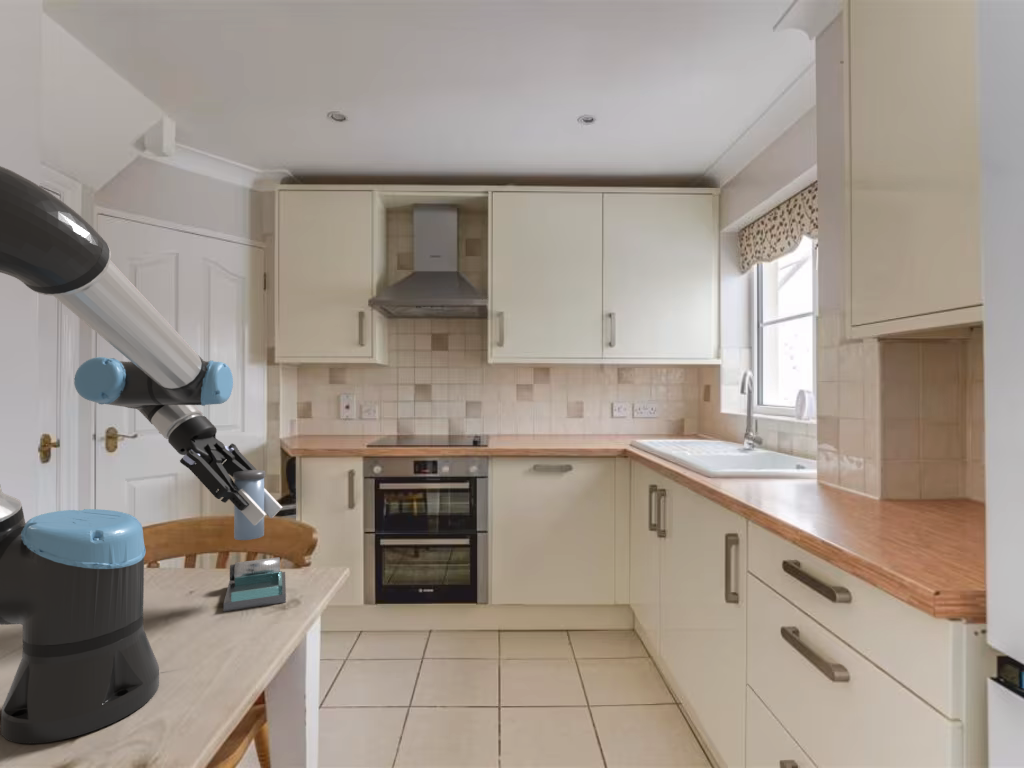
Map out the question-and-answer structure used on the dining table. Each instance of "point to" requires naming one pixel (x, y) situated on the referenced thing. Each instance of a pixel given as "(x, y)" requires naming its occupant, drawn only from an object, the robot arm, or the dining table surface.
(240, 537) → the ball
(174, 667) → the dining table surface
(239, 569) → the motor mount
